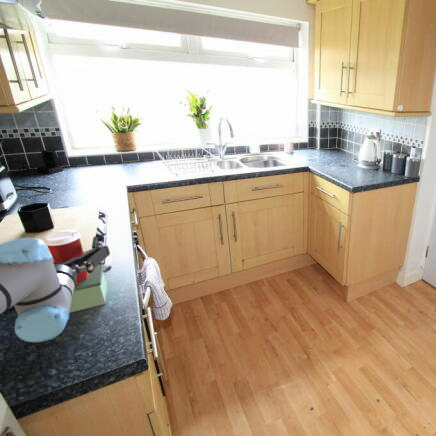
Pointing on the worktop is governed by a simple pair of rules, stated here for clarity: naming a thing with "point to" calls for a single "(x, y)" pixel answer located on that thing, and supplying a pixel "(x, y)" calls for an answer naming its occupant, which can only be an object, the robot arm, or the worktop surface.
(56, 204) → the worktop surface
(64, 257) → the paper cup
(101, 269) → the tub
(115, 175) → the worktop surface
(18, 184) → the worktop surface
